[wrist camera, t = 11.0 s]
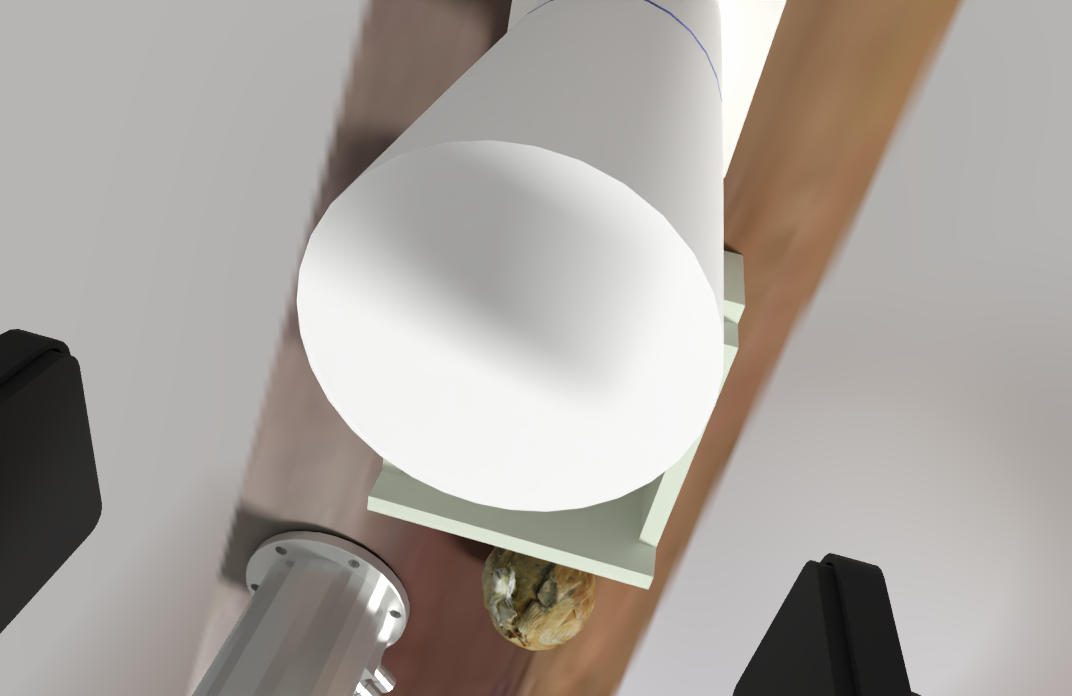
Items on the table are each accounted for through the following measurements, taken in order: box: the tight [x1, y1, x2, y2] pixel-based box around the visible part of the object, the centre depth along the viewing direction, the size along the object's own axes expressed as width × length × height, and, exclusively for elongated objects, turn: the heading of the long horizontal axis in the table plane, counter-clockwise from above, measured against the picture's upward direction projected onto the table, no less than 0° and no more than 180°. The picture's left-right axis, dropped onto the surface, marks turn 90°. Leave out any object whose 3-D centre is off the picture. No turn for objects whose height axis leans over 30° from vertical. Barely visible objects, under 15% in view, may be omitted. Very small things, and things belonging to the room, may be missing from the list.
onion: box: [482, 546, 596, 650], centre depth 50 cm, size 8×8×8 cm
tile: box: [507, 0, 786, 178], centre depth 34 cm, size 11×11×1 cm
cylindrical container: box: [297, 0, 724, 512], centre depth 23 cm, size 7×7×25 cm
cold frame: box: [367, 250, 745, 589], centre depth 40 cm, size 15×15×9 cm
